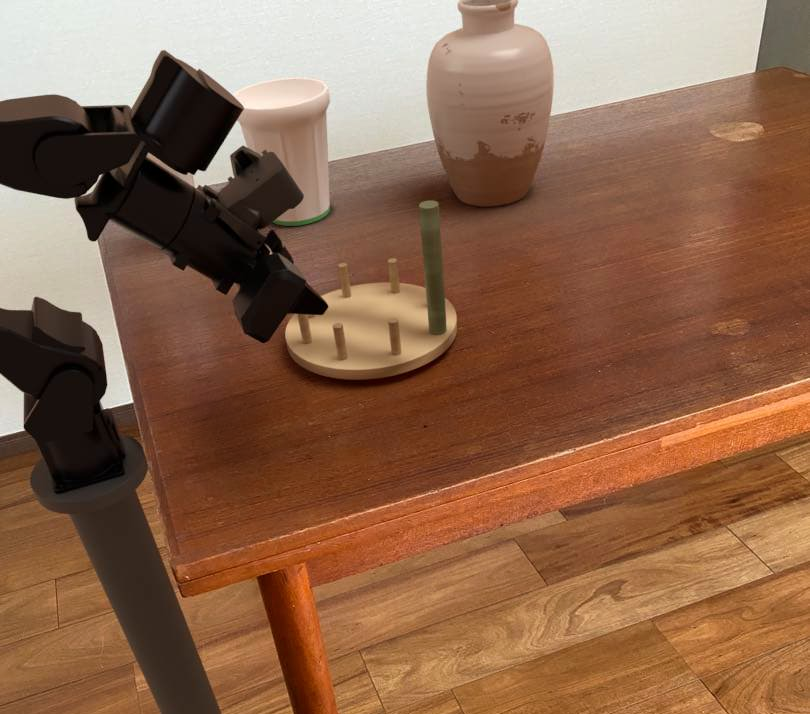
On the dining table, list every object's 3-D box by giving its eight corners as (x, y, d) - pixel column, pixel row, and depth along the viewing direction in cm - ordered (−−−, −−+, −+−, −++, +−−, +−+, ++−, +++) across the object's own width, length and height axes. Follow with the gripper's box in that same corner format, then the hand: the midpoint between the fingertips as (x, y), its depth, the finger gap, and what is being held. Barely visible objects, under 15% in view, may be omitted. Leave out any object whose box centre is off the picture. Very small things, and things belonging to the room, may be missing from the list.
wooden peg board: (421, 390, 84) (408, 248, 74) (256, 367, 90) (224, 232, 80) (480, 300, 96) (475, 167, 86) (331, 285, 102) (311, 159, 92)
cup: (359, 216, 118) (343, 93, 107) (272, 241, 114) (247, 116, 104) (324, 187, 126) (306, 70, 116) (242, 210, 123) (216, 91, 112)
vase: (488, 227, 111) (483, 23, 96) (409, 196, 121) (393, 6, 106) (576, 188, 118) (584, -9, 102) (494, 161, 128) (491, -22, 112)
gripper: (255, 167, 62) (414, 277, 72) (206, 98, 75) (345, 199, 85) (173, 297, 66) (335, 385, 75) (140, 209, 79) (281, 294, 89)
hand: (324, 309), depth 81 cm, fingers closed
